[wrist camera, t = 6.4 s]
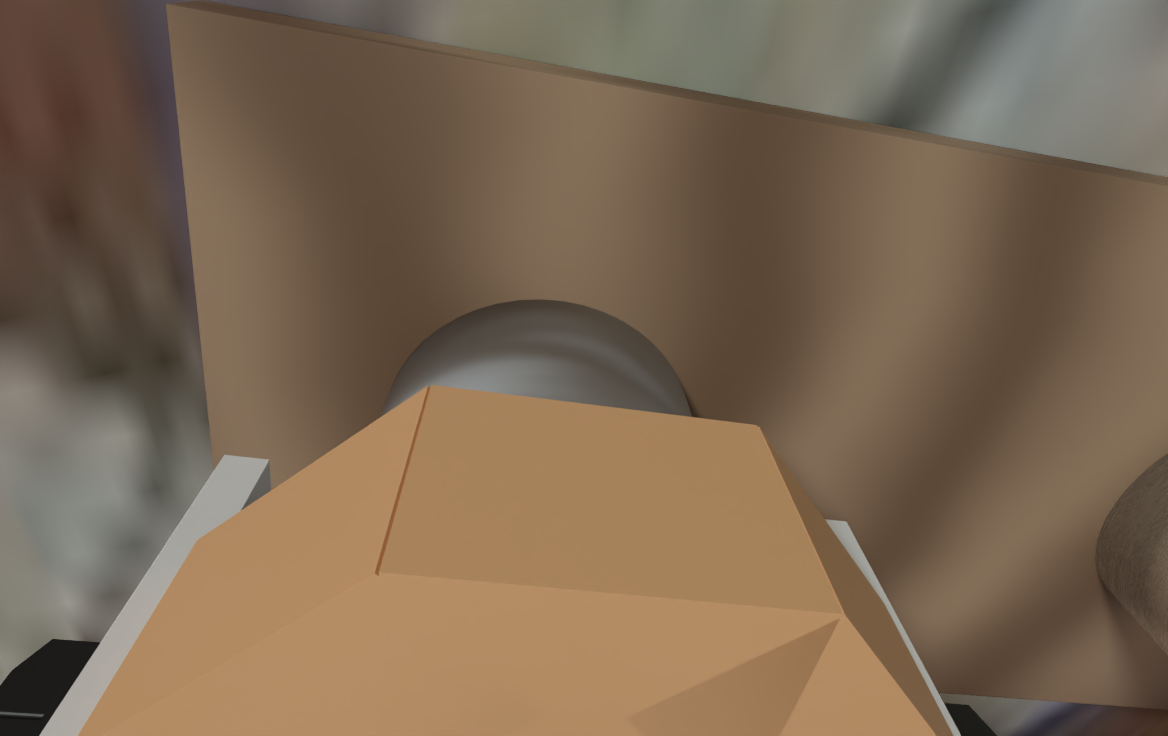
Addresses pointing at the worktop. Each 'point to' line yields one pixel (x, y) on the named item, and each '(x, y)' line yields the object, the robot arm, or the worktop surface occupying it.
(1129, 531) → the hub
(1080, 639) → the tool board
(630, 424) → the octagonal notched ring
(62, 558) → the worktop surface
